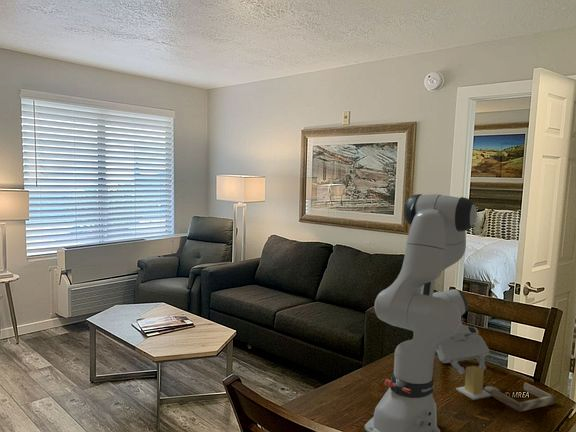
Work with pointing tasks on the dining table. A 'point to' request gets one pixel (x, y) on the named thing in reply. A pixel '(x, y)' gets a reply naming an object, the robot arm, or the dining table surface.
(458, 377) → the dining table surface
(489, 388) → the painted circle
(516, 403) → the cubby
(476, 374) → the ochre block
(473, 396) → the pad
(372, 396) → the dining table surface
